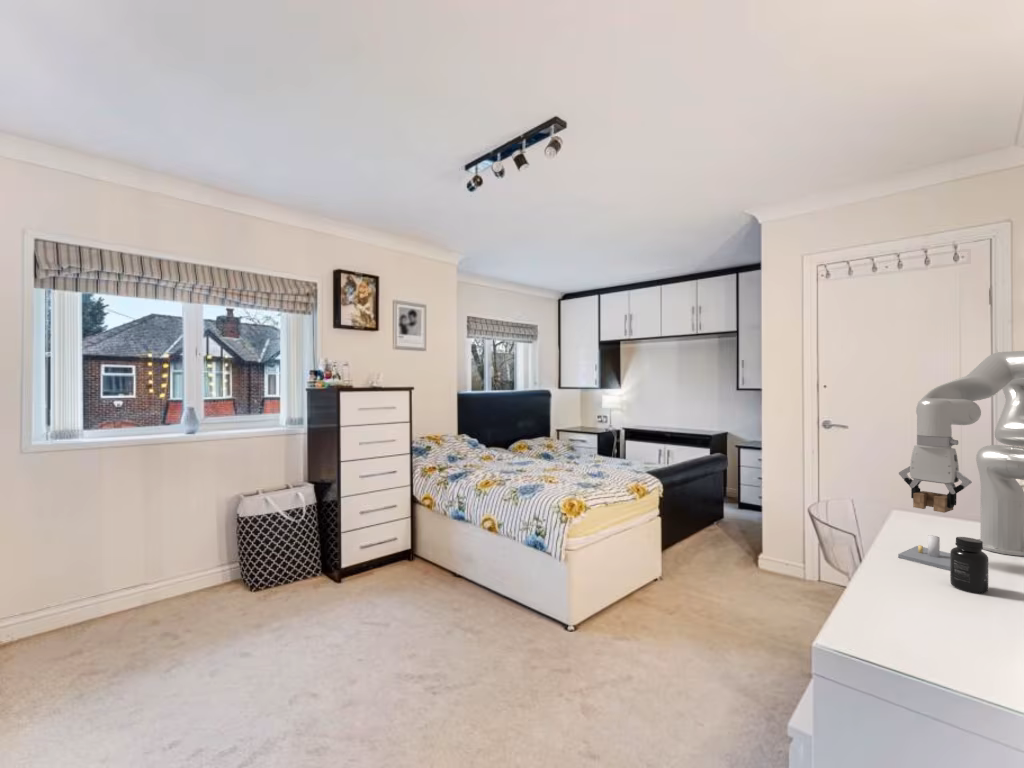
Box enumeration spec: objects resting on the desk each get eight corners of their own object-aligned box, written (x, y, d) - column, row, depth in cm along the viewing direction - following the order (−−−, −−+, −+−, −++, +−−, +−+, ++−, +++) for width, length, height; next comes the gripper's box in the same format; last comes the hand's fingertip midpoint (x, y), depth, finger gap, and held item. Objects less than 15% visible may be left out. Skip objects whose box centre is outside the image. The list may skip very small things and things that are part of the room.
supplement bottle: (996, 595, 115) (996, 544, 115) (962, 592, 116) (962, 542, 116) (974, 583, 121) (975, 536, 121) (943, 581, 123) (943, 534, 123)
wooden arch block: (953, 509, 137) (953, 495, 137) (944, 512, 134) (944, 498, 134) (922, 504, 143) (922, 490, 143) (913, 507, 139) (913, 493, 139)
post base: (917, 549, 147) (917, 527, 147) (969, 561, 137) (969, 538, 137) (898, 557, 140) (898, 535, 140) (952, 571, 130) (952, 546, 130)
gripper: (979, 445, 133) (978, 509, 133) (902, 438, 148) (901, 497, 148) (970, 446, 129) (969, 513, 129) (892, 439, 144) (891, 499, 144)
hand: (933, 504), depth 138 cm, fingers closed on wooden arch block, 7 cm apart
